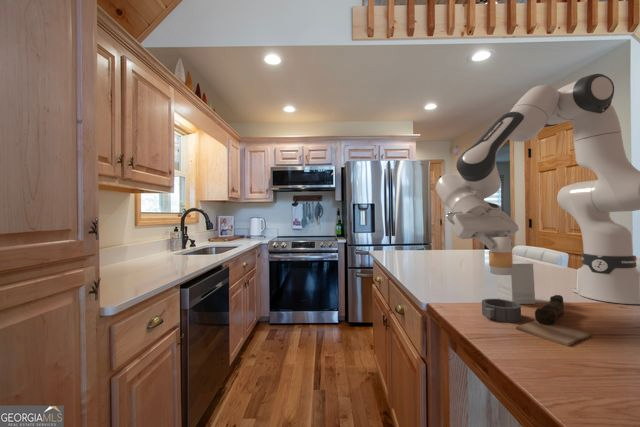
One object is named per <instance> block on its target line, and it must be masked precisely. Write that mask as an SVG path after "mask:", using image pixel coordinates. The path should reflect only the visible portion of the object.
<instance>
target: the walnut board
mask: <svg viewBox="0 0 640 427" xmlns="http://www.w3.org/2000/svg"><path fill="white" fill-rule="evenodd" d="M515 330H517V331H521V332H523V333H527V334H530V335H532V336H536V337H538V338H539V337H540V338H542V339H546V340H549V341H551V342H555V343H558V344H560V345H564V346H567V347H569V346H572V345H574V344H575V342H576V343H578V342H580V341H579V340H581V339H583V340H585V339H587V338H590V337H591V333H590V332H586V331H582V330H578V329H576V328H575V329H574V328H572V327H567V326H564V325H561V324H556V323H554V324H553V325H546V324H541V323H539V322H538V321H537V320H536V319H534V320H532V321H530V322H529V321H528V322H526V323H523V324H520V325H517V326H515ZM589 336H590V337H589ZM586 337H587V338H586ZM584 338H585V339H584ZM577 341H578V342H577ZM581 341H582V340H581Z"/></svg>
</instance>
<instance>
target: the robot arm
mask: <svg viewBox="0 0 640 427" xmlns="http://www.w3.org/2000/svg"><path fill="white" fill-rule="evenodd" d="M614 95H615V85H614V82H613V81H612V79H611V78H610V77H608V76H606V75H605V74H603V73H593V74H589V75H586V76H583V77H581V78H580V79H578V80H575V81H573V82H571V83H568V84H566V85H564V86H562V87H560V88H559V89H557V88H555V87H554V86H552V85H549V84H540V85H537V86H536V85H535V86H534V87H532V88H530V89H529V90H528V91H527V92H526V93H524V95H522V96H521V97H520V98H519V100H518V101H516V103H515V105H514V106H513V107H512V108H511V109H510V111H509V112H506V113H505V114H503V115H501V116H500V117H499V118H498V119H497V120H496V121H495V122H494V123H493V124H492V125H491V126H490V127H489V129H487V130H486V132H484V134H483V135H482V136H481V137H480V138H479V139H478V140H477V141H476V142H475V143H474V144H473V145H471V146H470V147H469V148H468V149H466V150H465V151H464V152H462V154H460V156H459V157H458V159H457V161H456V171H457V172H458V173H445V174H443V175H442V176H441V177H440V178H439V179H438V181H437V182H436V184H435V185H436V186H435V190H436V193H437V195H438V197H439V199H440V200H441V201H442V203H443V204H444V205H445V206H446V207H447V208H449V210H451V211H450V212H448V213H447V214H446V216H445V217H446V219H447V220H448V222H449V225H450V227H451V229H452V231H453V233H454V234H455V235H456V236H457V237H458V238H459V239H461V240H468V239H469V240H472V239H476V240H477V241H478V242H479V243H481V244H483V245H484V246H486V248H487V249H488V250H489V249H493V248H495V247H496V243H494V241H493V240H490V239H489V237H495V236H500V237H513V236H515V234H516V233H517V231H519V225H518V224H517V223H516V222H515V221H514V220H513V218H512V217H511V216H510V215H508V214H507V212H505V211H503V210H502V207H501V205H499V204H497V203H493V202H489V201H486V200H485V199H486V198H489V197H491V196H493V195H495V194H496V193H497V192H498V191H499V190H500V188H501V186H502V183H501V178H500V173H499V170H498V167H497V154H498V152H499V150H500V149H501V148H502V147H503V146H504V145H505V144H506V143H507V142H508V140H509V141H512V142H517V143H518V142H519V143H523V142H527V141H531V140H533V139H534V138H535V137H537V136H538V135H539V134H540V132H541V131H543V129H544V128H547V127H555V126H557V125H559V124H563V123H566V122H570V123H571V124H572V126H573V128H572V138H573V140H572V141H573V148H574V156H575V162H576V164H577V165H578V166H579V167H581V168H582V169H583V168H584V169H587V170H590V171H592V172H593V173H594V174H595V175H596V177H597V179H593V180H586V181H578V182H575V183H571V184H567V185H565V186H563V187H561V188H560V189H559V191H558V193H557V196H556V200H557V205H558V206H559V208H561V209H562V210H563V211H565V212H567V213H568V214H570V215H571V217H572V218H573V219H574V220H575V221H576V223H577V225H578V226H579V229H580V232H581V238H582V240H581V241H582V249H583V252H582V253H581V263H582V266H581V267H579V268H577V272H576V273H577V274H576V276H577V278H576V287H574V288H572V289H571V291H572V293H575V294H578V295H579V296H582V297H584V298H587V299H591V300H597V301H601V302H605V303H606V302H607V303H615V304H623V305H640V272H639V270H638V269H637V265H638V264H637V258H638V257H637V255H634V254H633V252H634V251H633V235H632V233H631V231H630V230H629V229H628V228H627V227H626V226H624V225H622V224H619V223H616V222H615V221H614V220H613V219H611V217H610V213H617V212H618V213H620V212H622V213H623V212H635V211H640V170H639V169H637V168H636V167H635V166H634V165H633V164H632V163H631V161H630V160H629V158H628V157H627V155H626V151H625V148H624V141H623V137H622V135H623V134H622V130H621V129H622V128H621V124H620V120H619V117H618V114H617V111H616V109H615V108H614V106H613V105H612V100H613V98H614ZM514 245H515V242H514V241H513V240H512V239H511V248H512V247H513V246H514Z"/></svg>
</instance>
